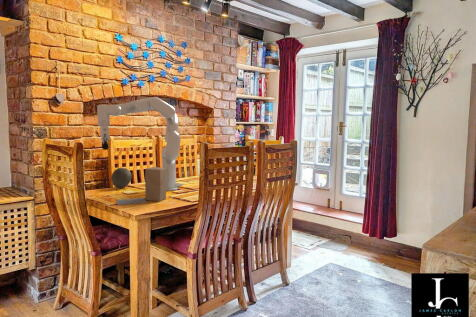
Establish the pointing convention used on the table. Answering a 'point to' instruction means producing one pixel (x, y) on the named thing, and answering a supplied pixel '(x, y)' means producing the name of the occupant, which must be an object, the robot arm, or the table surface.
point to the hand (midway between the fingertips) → (105, 149)
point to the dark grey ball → (121, 177)
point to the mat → (131, 201)
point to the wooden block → (155, 184)
